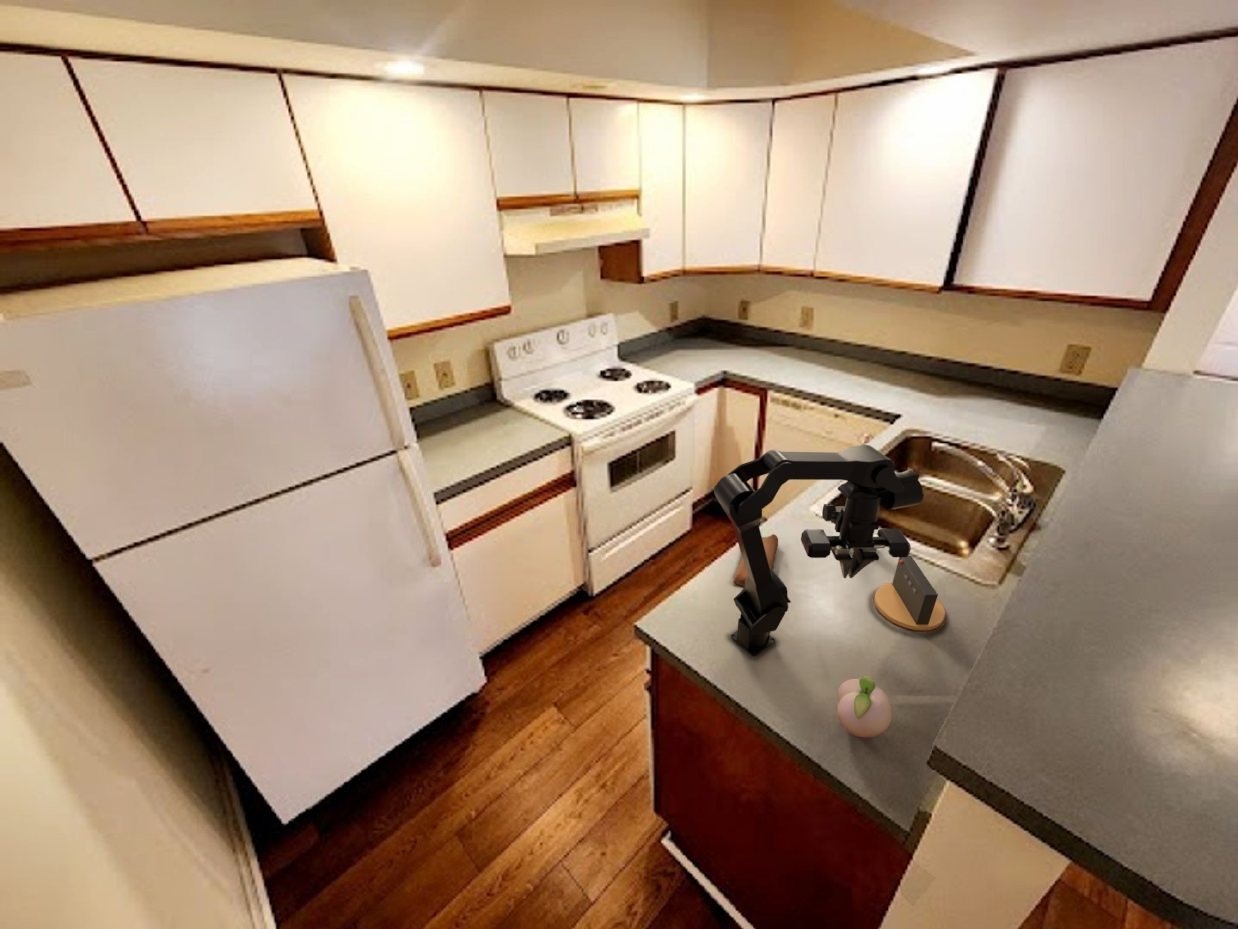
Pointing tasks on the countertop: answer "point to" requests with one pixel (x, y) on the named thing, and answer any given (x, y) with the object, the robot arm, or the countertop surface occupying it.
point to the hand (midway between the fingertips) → (847, 576)
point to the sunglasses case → (771, 550)
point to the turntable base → (904, 627)
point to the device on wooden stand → (910, 598)
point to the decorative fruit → (863, 707)
